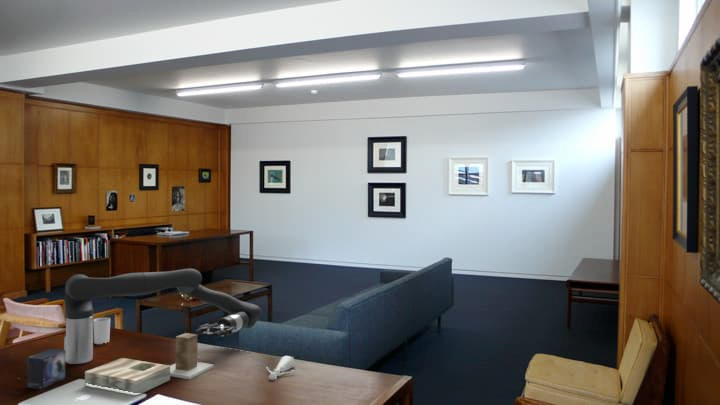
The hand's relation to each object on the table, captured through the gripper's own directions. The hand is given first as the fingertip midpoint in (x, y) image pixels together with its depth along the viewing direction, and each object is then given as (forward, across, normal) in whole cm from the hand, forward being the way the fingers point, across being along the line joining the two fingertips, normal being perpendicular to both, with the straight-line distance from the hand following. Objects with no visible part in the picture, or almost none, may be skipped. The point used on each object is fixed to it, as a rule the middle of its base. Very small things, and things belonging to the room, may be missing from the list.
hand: (205, 334), depth 204 cm
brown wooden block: (+11, 0, +10) cm, 15 cm away
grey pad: (+11, 0, +11) cm, 15 cm away
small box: (+40, -35, +11) cm, 54 cm away
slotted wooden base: (+29, -10, +11) cm, 33 cm away
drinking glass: (-4, -57, +11) cm, 58 cm away
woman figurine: (-1, +33, +11) cm, 35 cm away
